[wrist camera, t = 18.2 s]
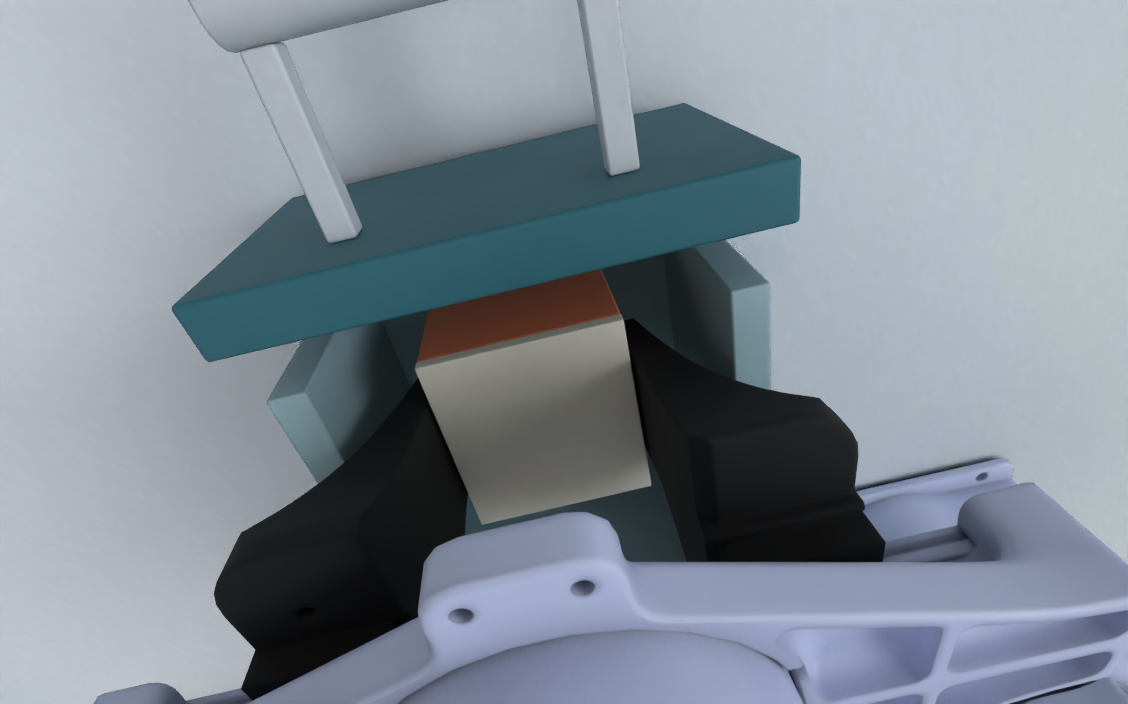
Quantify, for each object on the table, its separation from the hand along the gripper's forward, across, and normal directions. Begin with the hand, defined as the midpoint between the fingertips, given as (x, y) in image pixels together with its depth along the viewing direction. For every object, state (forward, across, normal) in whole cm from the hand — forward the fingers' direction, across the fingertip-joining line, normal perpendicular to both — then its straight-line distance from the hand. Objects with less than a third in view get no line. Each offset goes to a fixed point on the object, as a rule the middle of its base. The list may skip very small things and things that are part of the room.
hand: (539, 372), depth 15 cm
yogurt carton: (+1, 0, 0) cm, 1 cm away
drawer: (+3, 0, -1) cm, 3 cm away
